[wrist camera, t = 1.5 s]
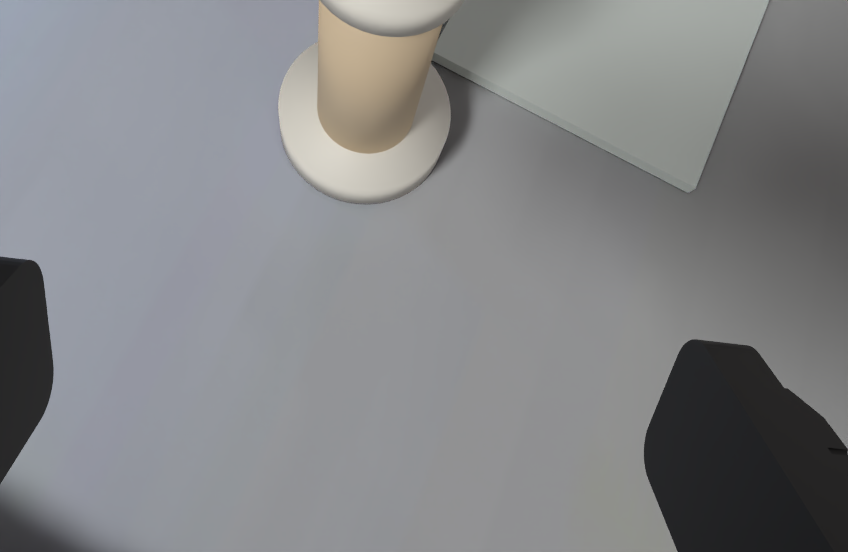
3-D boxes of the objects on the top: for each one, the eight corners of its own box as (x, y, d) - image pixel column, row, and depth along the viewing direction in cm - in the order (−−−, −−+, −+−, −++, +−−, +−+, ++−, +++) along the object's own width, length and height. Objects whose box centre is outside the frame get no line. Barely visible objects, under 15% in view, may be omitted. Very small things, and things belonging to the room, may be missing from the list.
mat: (429, 59, 30) (431, 51, 29) (542, -147, 33) (546, -158, 32) (688, 193, 30) (695, 188, 29) (773, -24, 33) (782, -33, 33)
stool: (249, 156, 28) (210, -29, 17) (327, 27, 29) (337, -213, 19) (400, 232, 28) (455, 96, 17) (469, 99, 30) (557, -98, 19)
